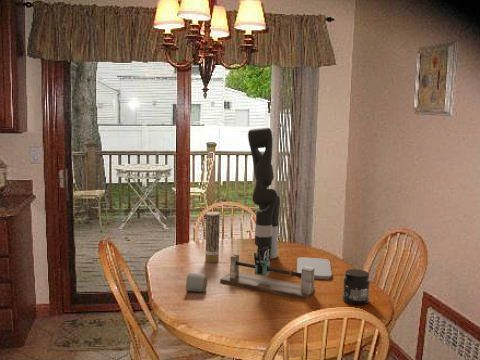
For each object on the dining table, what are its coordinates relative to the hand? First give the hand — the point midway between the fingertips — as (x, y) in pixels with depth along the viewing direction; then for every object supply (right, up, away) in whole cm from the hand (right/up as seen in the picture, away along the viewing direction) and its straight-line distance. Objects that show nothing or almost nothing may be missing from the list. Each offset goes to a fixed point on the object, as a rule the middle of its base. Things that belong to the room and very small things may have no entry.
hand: (262, 271), depth 202 cm
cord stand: (+2, -6, 0) cm, 7 cm away
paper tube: (-24, -1, +33) cm, 41 cm away
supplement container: (+38, -10, -13) cm, 41 cm away
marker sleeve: (0, -1, 0) cm, 1 cm away
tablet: (+26, -4, +23) cm, 36 cm away
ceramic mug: (-28, -7, -6) cm, 30 cm away
